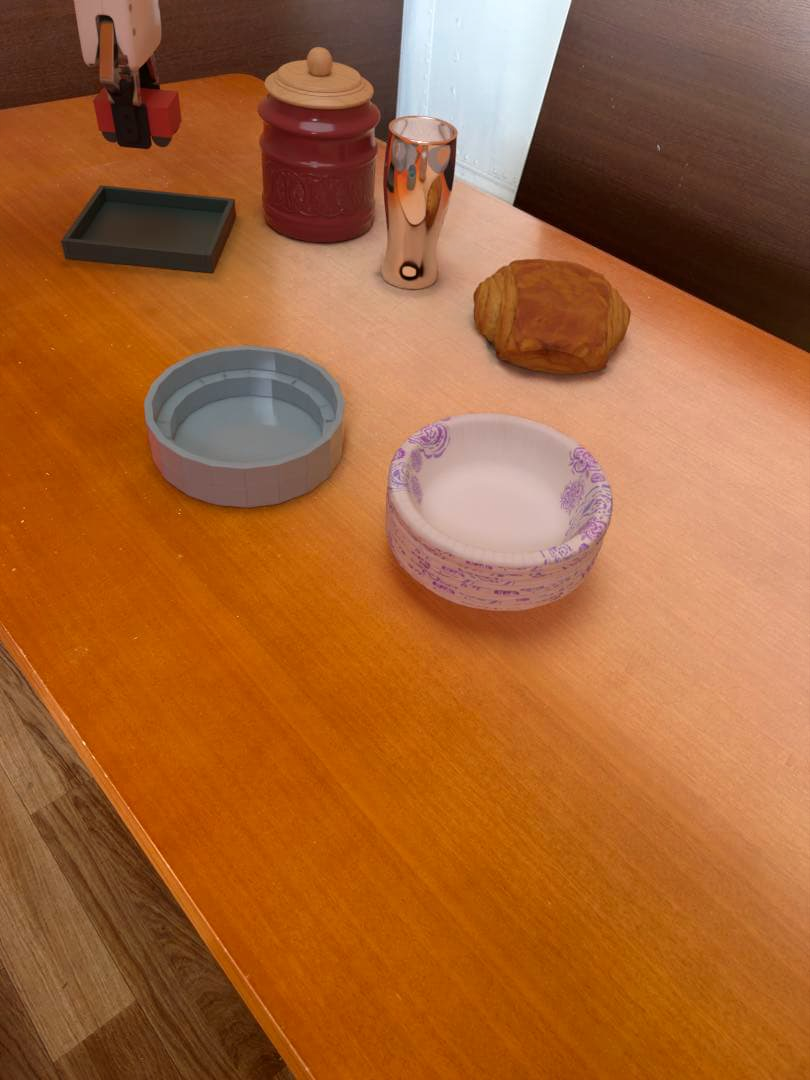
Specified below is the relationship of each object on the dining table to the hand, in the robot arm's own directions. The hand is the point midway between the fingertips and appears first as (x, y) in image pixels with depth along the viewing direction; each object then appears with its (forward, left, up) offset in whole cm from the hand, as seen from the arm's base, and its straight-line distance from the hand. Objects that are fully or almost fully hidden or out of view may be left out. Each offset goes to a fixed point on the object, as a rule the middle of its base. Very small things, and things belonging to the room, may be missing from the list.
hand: (141, 134), depth 79 cm
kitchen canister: (+17, +8, -11) cm, 22 cm away
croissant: (+42, -13, -11) cm, 45 cm away
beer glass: (+28, -3, -11) cm, 30 cm away
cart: (0, 0, 0) cm, 0 cm away
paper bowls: (+35, -43, -11) cm, 56 cm away
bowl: (+16, -33, -11) cm, 38 cm away
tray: (0, 0, -11) cm, 11 cm away
